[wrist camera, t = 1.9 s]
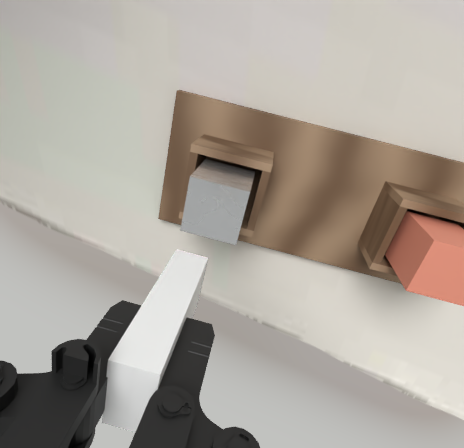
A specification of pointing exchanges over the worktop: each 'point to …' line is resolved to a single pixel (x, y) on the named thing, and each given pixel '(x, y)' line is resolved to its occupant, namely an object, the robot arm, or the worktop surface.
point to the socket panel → (311, 182)
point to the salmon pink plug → (429, 257)
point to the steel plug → (217, 201)
